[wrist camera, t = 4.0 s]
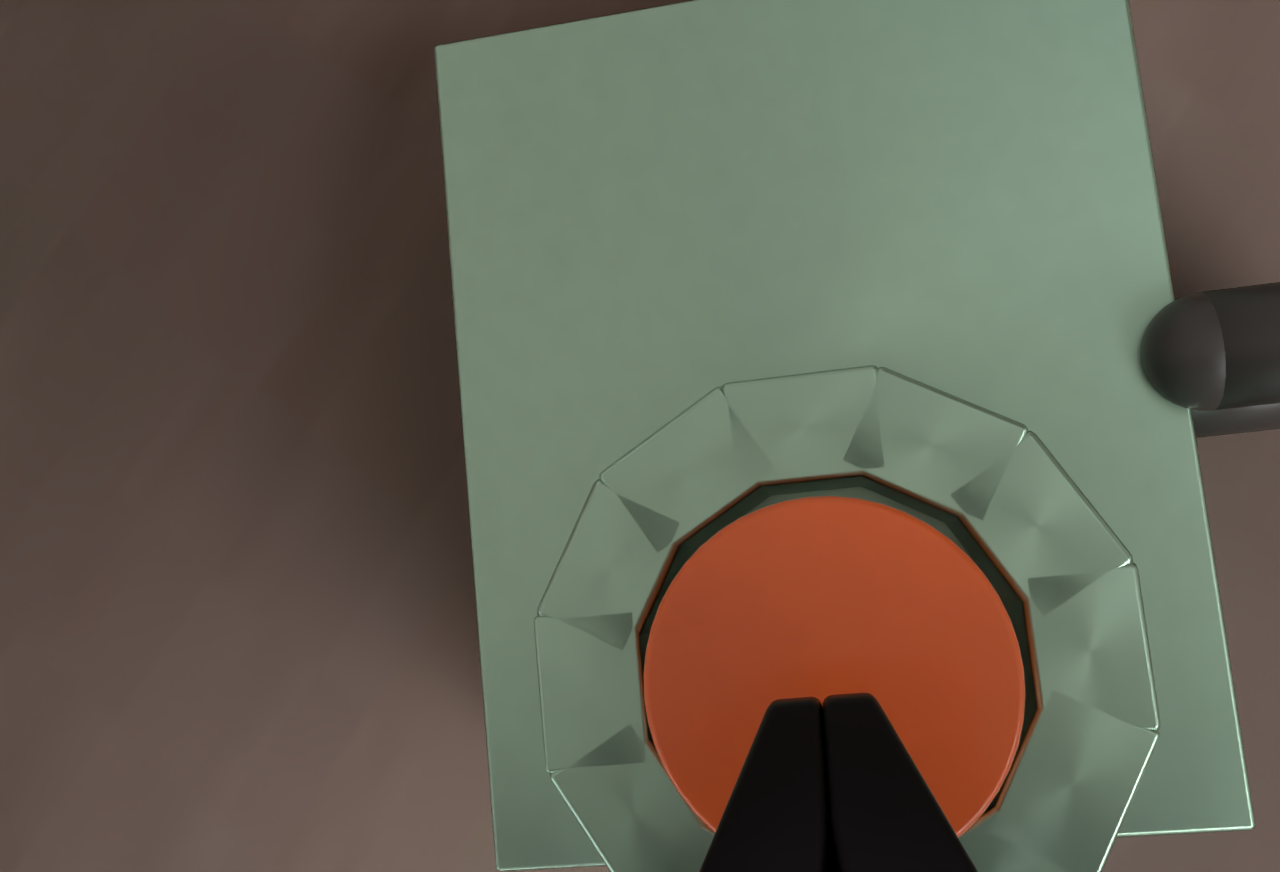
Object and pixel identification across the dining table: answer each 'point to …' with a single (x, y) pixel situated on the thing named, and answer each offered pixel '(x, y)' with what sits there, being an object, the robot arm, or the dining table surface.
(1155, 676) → the green button housing
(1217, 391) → the handle
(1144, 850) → the dining table surface
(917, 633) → the push button
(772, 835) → the robot arm
